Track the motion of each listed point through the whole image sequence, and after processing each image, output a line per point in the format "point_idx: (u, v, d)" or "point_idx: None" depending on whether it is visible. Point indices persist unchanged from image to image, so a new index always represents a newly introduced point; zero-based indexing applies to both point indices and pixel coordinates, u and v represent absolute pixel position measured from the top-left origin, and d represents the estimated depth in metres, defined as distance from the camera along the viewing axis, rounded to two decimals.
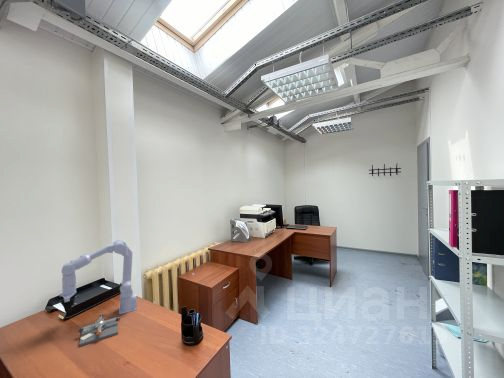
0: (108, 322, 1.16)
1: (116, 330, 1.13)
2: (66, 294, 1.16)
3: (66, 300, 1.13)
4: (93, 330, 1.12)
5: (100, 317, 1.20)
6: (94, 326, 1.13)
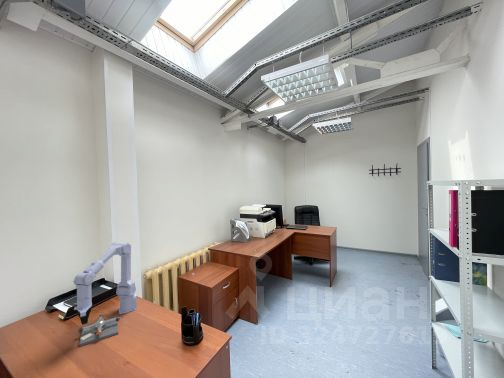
0: (108, 322, 1.16)
1: (116, 330, 1.13)
2: (81, 307, 1.05)
3: (82, 314, 1.01)
4: (93, 330, 1.12)
5: (100, 317, 1.20)
6: (94, 326, 1.13)
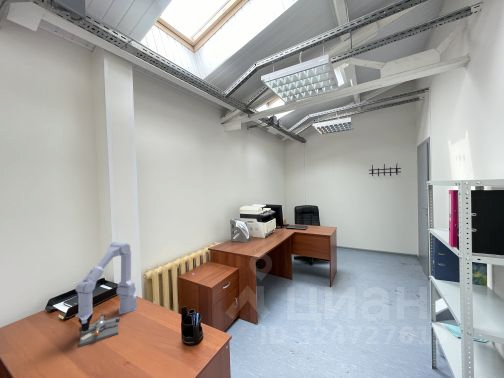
0: (108, 323, 1.16)
1: (116, 330, 1.13)
2: (83, 315, 1.08)
3: (83, 322, 1.05)
4: (93, 330, 1.12)
5: (102, 317, 1.20)
6: (94, 326, 1.13)
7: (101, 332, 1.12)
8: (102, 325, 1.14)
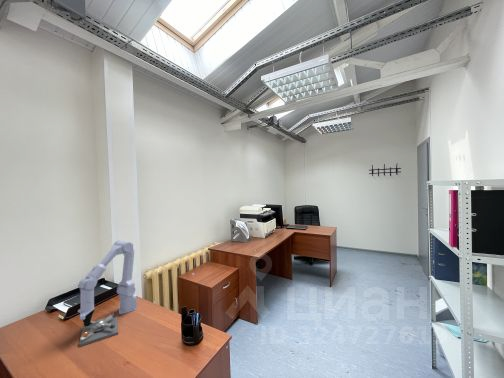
0: (104, 326, 1.13)
1: (116, 330, 1.13)
2: (83, 311, 1.11)
3: (81, 318, 1.08)
4: None
5: (109, 316, 1.20)
6: None
7: (101, 332, 1.12)
8: (99, 326, 1.13)
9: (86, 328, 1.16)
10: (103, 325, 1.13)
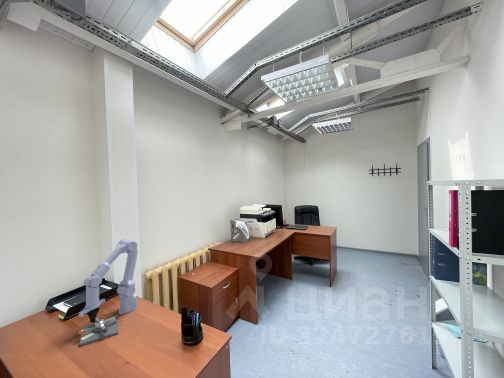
0: (100, 327, 1.12)
1: (116, 330, 1.13)
2: (86, 307, 1.15)
3: (79, 315, 1.10)
4: None
5: (112, 317, 1.19)
6: None
7: (101, 332, 1.12)
8: (97, 327, 1.12)
9: None
10: (100, 326, 1.12)
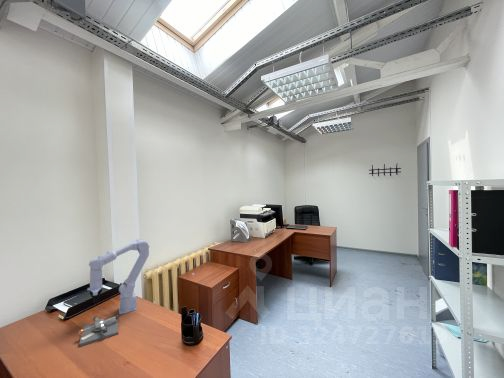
0: (100, 327, 1.12)
1: (116, 330, 1.13)
2: (94, 288, 1.21)
3: (94, 294, 1.18)
4: None
5: (112, 317, 1.19)
6: None
7: (101, 332, 1.12)
8: (97, 327, 1.12)
9: None
10: (100, 326, 1.12)
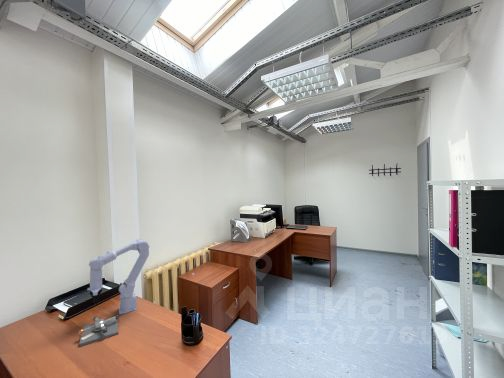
0: (100, 327, 1.12)
1: (116, 330, 1.13)
2: (94, 288, 1.21)
3: (94, 294, 1.18)
4: None
5: (112, 317, 1.19)
6: None
7: (101, 332, 1.12)
8: (97, 327, 1.12)
9: None
10: (100, 326, 1.12)
